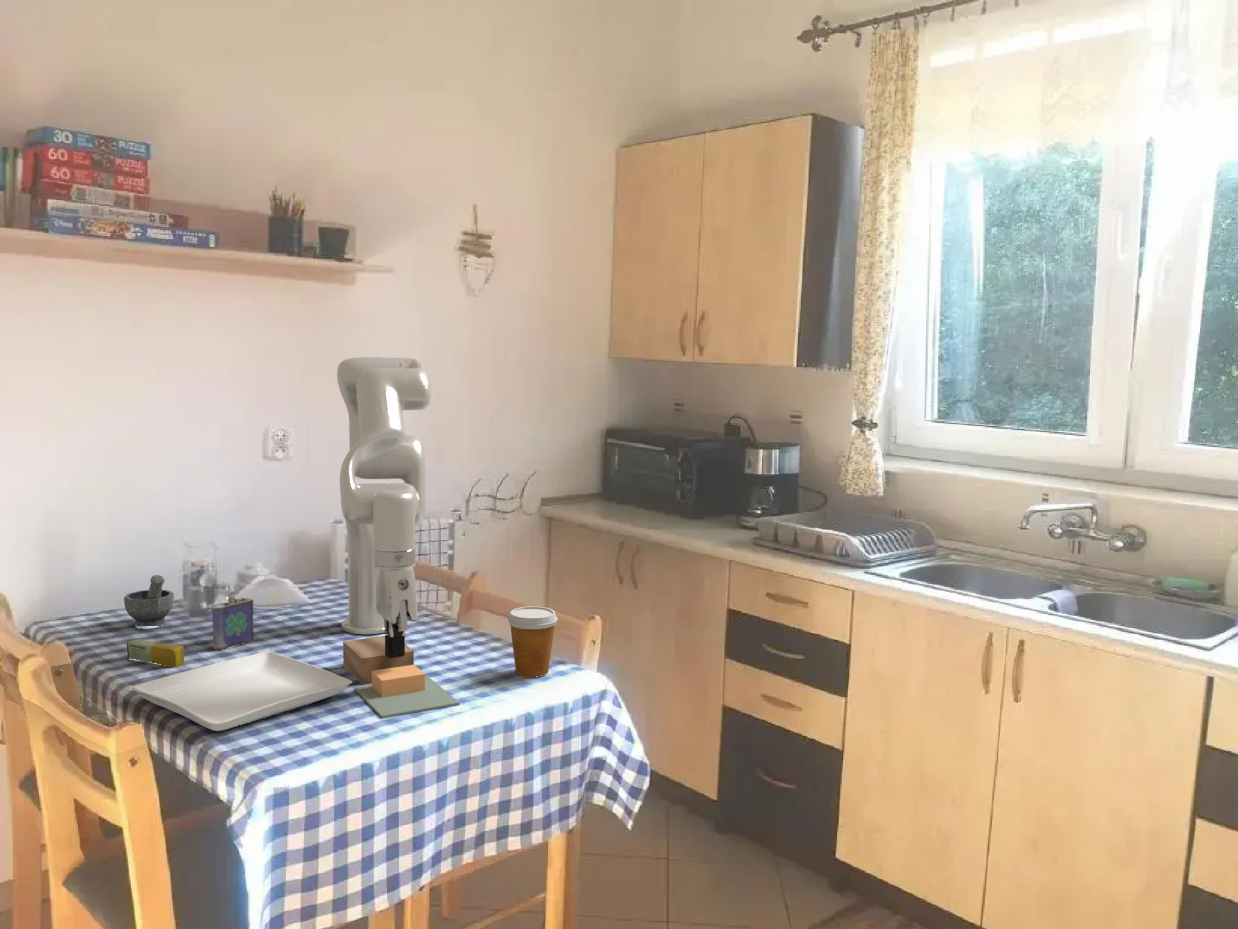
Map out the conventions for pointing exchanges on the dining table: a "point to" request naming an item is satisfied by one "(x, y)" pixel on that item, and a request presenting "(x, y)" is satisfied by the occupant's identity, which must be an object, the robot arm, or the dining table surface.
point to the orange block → (398, 680)
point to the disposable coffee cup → (532, 639)
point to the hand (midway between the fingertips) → (394, 656)
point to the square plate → (242, 689)
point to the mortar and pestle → (150, 604)
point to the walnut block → (371, 658)
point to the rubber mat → (407, 700)
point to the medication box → (155, 652)
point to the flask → (232, 622)
